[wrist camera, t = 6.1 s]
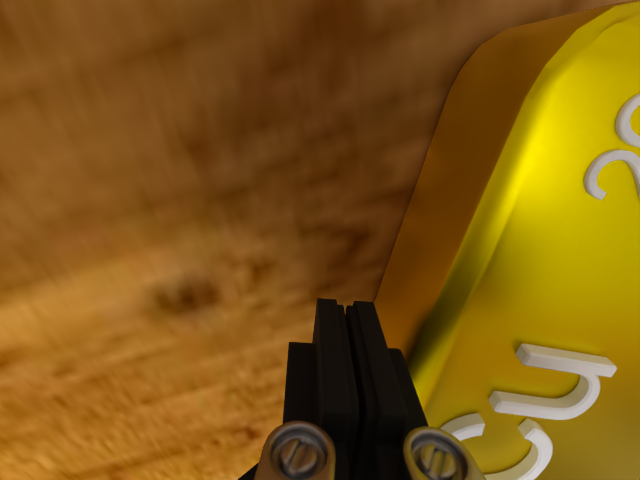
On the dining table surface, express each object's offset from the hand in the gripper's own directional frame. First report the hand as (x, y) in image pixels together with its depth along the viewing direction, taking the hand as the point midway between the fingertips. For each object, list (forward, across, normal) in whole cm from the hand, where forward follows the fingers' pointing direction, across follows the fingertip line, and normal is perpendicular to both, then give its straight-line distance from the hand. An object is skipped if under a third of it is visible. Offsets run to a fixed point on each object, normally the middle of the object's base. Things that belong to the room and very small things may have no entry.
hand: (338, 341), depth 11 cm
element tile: (+3, -9, -1) cm, 10 cm away
